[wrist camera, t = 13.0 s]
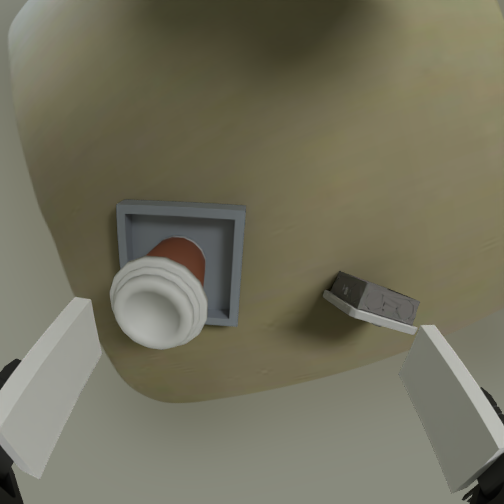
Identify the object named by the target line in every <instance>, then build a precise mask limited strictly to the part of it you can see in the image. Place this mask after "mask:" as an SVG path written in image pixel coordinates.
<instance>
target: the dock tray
mask: <svg viewBox="0 0 504 504" xmlns="http://www.w3.org/2000/svg"><path fill="white" fill-rule="evenodd" d="M116 212H117V233H118V248H119V260H120V270H121V269H122V268H123V267H124V266H125V265H126V264H127V263H128V262H129V261H132V260H135V259H137V258H140V257H143V256H146V255H147V254H148V253H149V252H150V251H151V250H152V249H153V248H154V247H156V246H157V245H158V244H159V243H160V242H161V241H162V240H163V239H164V238H167V237H170V236H173V235H178V236H186V237H188V238H190V239H192V240H194V241H195V242H196V243H197V244H198V245H199V246H200V247H201V248H202V250H203V252H204V255H205V257H206V269H205V276H204V286H203V289H204V291H205V294H206V296H207V298H208V315H207V320H206V322H205V324H209V325H222V326H236V327H237V325H238V310H239V296H240V281H241V267H242V253H243V240H244V226H245V213H246V206H244V205H229V204H214V203H196V202H176V201H153V200H123V201H121V202H119V203H118V204H116Z"/></svg>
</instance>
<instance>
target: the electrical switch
mask: <svg viewBox="0 0 504 504" xmlns="http://www.w3.org/2000/svg"><path fill="white" fill-rule="evenodd" d="M323 297H324V298H325V299H326V300H328V301H329V302H330V303H332V304H333V305H335V306H336V307H337V308H339V309H340V310H342V311H343V312H345V313H346V314H348V315H349V316H352V317H354V318H357V319H360V320H364V321H367V322H370V323H372V324H373V325H376V326H379V327H381V326H384V327H388V328H391V329H394V330H398V331H401V332H405V333H408V334H412V335H414V334H415V332H416V330H417V327H415V326H413V321H414V319H415V316H416V311H417V308H418V306H419V303H420V301H417V300H415V299H412V298H410V297H408V296H405V295H403V294H400V293H398V292H395V291H393V290H390V289H388V288H385V287H382V286H379V285H376V284H374V283H371V282H368V281H365V280H363V279H360V278H357V277H354V276H352V275H349V274H346V273H344V272H341V271H339V273H338V276H337V279H336V281H335V282H334V284H333V287H332V289H331V291H328V290H325V291H324V294H323Z"/></svg>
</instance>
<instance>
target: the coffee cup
mask: <svg viewBox="0 0 504 504" xmlns="http://www.w3.org/2000/svg"><path fill="white" fill-rule="evenodd" d="M205 269H206V257H205V255H204V252H203V250H202V248H201V247H200V246H199V245H198V244H197V243H196V242H195V241H194V240H192V239H190V238H188V237H186V236H178V235H173V236H170V237H167V238H164V239H163V240H162V241H161V242H160V243H159V244H158V245H157V246H156V247H154V248H153V249H152V250H151V251H150V252H149V253H148V254H147V255H146V256H143V257H140V258H137V259H135V260H132V261H129V262H128V263H127V264H126V265H125V266H124V267H123V268H122V269H121V270H120V271H119V272H118V273H117V274H116V275H115V276H114V279H113V283H112V286H111V289H110V300H111V306H112V311H113V313H114V314H115V319H116V321H117V322H118V324H119V326H120V327H121V329H122V331H123V332H124V333H125V334H126V335H128V336H129V337H130V338H131V339H132V340H133V341H135V342H137V343H139V344H141V345H143V346H145V347H147V348H154V349H162V350H163V349H168V348H172V347H176V346H179V345H183V344H186V343H187V342H189V341H190V340H192V339H193V338H194V337H196V336H197V335H199V333H200V331H201V330H202V328H203V326H204V324H205V322H206V320H207V315H208V298H207V296H206V294H205V291H204V289H203V286H204V276H205Z"/></svg>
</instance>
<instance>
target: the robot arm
mask: <svg viewBox="0 0 504 504" xmlns="http://www.w3.org/2000/svg"><path fill="white" fill-rule="evenodd" d="M101 355H102V351H101V347H100V342H99V338H98V333H97V328H96V324H95V319H94V313H93V308H92V302H91V299H85V298H79V297H74V298H73V299H72V301H71V302H70V303H69V304H68V305H67V306H66V307H65V309H64V310H63V311H62V312H61V313H60V314H59V316H58V317H57V318H56V319H55V320H54V322H53V323H52V324H51V325H50V326H49V328H48V329H47V330H46V331H45V332H44V333H43V335H42V336H41V337H40V338H39V340H38V341H37V342H36V343H35V345H34V346H33V347H32V348H31V350H30V351H29V352H28V353H27V355H26V356H25V357H24V359H23V360H22V361H21V360H19V359H15V360H13V361H12V362H11V363H9V364H8V365H6V366H5V367H4V368H3V370H2V371H1V372H0V504H23V500H22V497H21V494H20V491H19V488H18V485H17V481H16V478H15V474H14V472H13V470H12V468H11V466H12V464H13V462H14V463H15V464H17V466H18V467H19V468H20V469H21V470H22V471H24V472H26V473H28V474H30V475H32V476H34V477H36V478H38V479H40V478H41V475H42V473H43V470H44V468H45V466H46V463H47V461H48V459H49V457H50V455H51V452H52V450H53V448H54V446H55V444H56V442H57V439H58V437H59V435H60V433H61V431H62V429H63V427H64V425H65V423H66V421H67V419H68V417H69V415H70V413H71V411H72V409H73V407H74V405H75V403H76V401H77V399H78V397H79V395H80V393H81V392H82V390H83V387H84V386H85V384H86V382H87V380H88V378H89V377H90V375H91V373H92V371H93V369H94V367H95V366H96V364H97V362H98V360H99V358H100V357H101ZM399 376H400V378H401V380H402V382H403V384H404V386H405V388H406V390H407V392H408V395H409V397H410V399H411V401H412V403H413V405H414V407H415V409H416V412H417V413H418V416H419V418H420V420H421V422H422V425H423V427H424V429H425V431H426V433H427V436H428V438H429V440H430V442H431V445H432V447H433V449H434V452H435V454H436V456H437V459H438V461H439V464H440V466H441V468H442V471H443V473H444V476H445V478H446V481H447V483H448V486H449V489H450V491H451V493H454V492H457V491H460V490H462V489H464V488H467V487H468V486H469V485H470V484H471V483H472V482H474V481H475V480H476V479H477V480H478V483H479V484H477V485H476V486H475V487H474V488H473V489H472V490H470V491H469V492H468V493H467V494H465V495H464V497H463V499H462V500H465V499H467V498H468V497H469V496H470V495H472V497H471V498H470V499H469V500H468V501H467V502H470V504H504V415H503V414H502V411H501V410H500V408H499V407H497V404H496V402H495V401H494V399H493V398H492V396H491V395H490V394H489V393H488V392H487V391H485V390H484V389H483V388H482V387H481V388H480V387H479V386H478V384H477V383H476V381H475V380H474V379H473V377H472V376H471V374H470V373H469V371H468V370H467V368H466V367H465V366H464V364H463V363H462V361H461V360H460V359H459V357H458V356H457V354H456V353H455V352H454V350H453V349H452V348H451V346H450V345H449V344H448V342H447V341H446V340H445V338H444V337H443V336H442V334H441V333H440V332H439V330H438V329H437V328H436V326H435V325H420V328H419V330H418V333H417V335H416V337H415V340H414V342H413V344H412V346H411V348H410V351H409V353H408V355H407V357H406V359H405V361H404V364H403V366H402V368H401V370H400V372H399Z"/></svg>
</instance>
